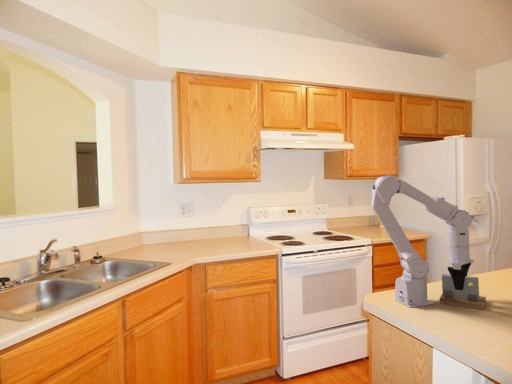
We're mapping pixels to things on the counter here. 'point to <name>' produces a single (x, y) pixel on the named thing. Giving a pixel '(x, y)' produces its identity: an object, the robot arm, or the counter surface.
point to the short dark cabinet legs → (470, 297)
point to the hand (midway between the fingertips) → (460, 286)
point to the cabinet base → (464, 302)
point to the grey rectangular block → (469, 288)
